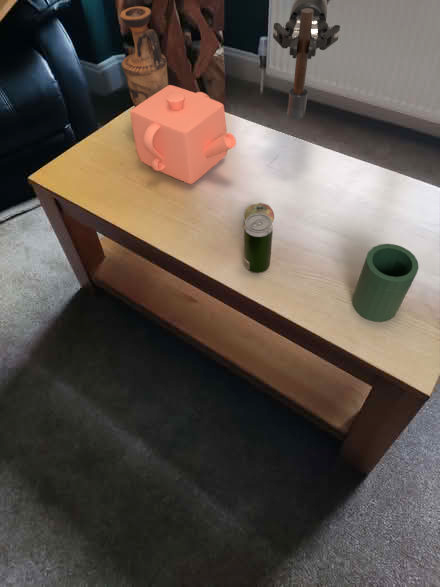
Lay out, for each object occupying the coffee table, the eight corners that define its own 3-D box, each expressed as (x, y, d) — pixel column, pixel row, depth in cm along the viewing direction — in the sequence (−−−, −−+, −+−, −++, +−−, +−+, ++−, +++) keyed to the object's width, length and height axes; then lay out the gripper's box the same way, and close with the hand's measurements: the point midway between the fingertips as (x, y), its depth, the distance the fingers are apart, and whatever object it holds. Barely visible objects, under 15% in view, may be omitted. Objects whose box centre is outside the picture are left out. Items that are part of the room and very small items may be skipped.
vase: (129, 137, 119) (100, 16, 95) (154, 119, 124) (133, -1, 100) (159, 150, 114) (137, 26, 91) (184, 130, 120) (169, 8, 96)
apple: (268, 244, 92) (269, 223, 88) (238, 228, 95) (238, 208, 91) (283, 228, 95) (285, 207, 90) (254, 213, 98) (254, 193, 93)
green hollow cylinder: (378, 280, 85) (395, 237, 76) (407, 311, 80) (429, 269, 71) (343, 296, 83) (356, 254, 74) (370, 328, 78) (388, 288, 69)
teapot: (260, 161, 110) (263, 93, 95) (206, 211, 99) (200, 143, 85) (185, 131, 119) (177, 65, 105) (128, 173, 109) (111, 107, 95)
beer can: (254, 279, 87) (256, 237, 77) (238, 263, 89) (238, 220, 80) (275, 266, 88) (279, 224, 79) (258, 251, 91) (260, 208, 81)
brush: (298, 107, 94) (310, 4, 78) (308, 116, 92) (322, 11, 76) (283, 112, 94) (292, 9, 78) (293, 121, 91) (304, 16, 75)
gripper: (276, -7, 88) (266, 30, 78) (345, -5, 86) (344, 33, 76) (274, 33, 94) (264, 71, 84) (338, 35, 92) (336, 75, 82)
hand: (302, 53), depth 80 cm, fingers closed on brush, 2 cm apart
